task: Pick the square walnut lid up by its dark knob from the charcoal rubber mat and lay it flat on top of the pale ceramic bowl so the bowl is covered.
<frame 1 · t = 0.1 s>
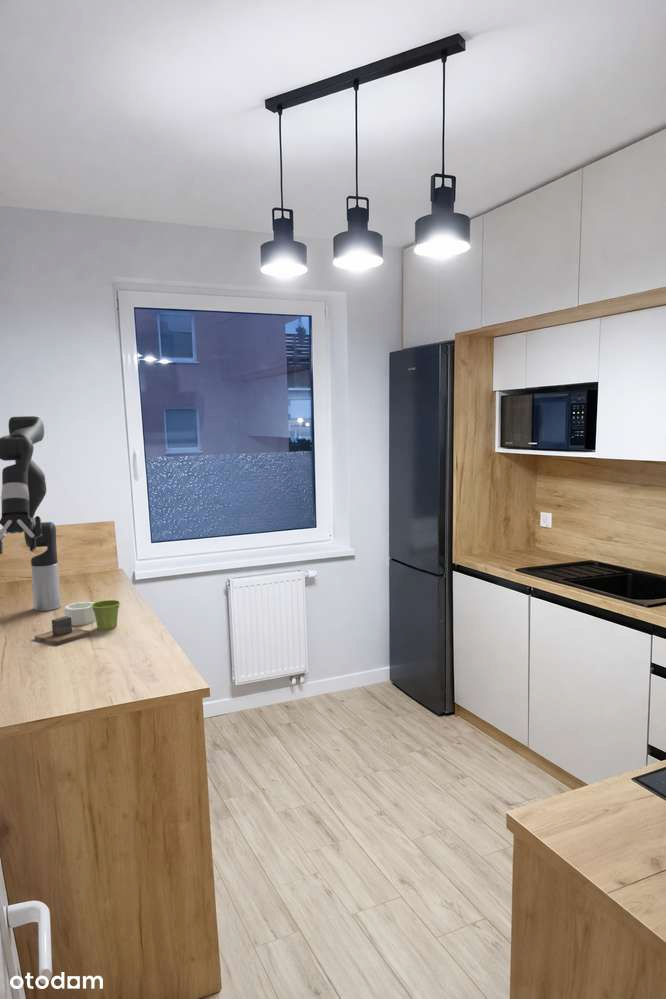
hand: (16, 552, 193), 31 cm above the countertop, tool tilted 20°, fingers open, 8 cm apart
plant pot: (107, 629, 221), on the countertop
lid: (62, 637, 211), resting on mat
bowl: (81, 622, 230), on the countertop
mat: (62, 638, 211), on the countertop
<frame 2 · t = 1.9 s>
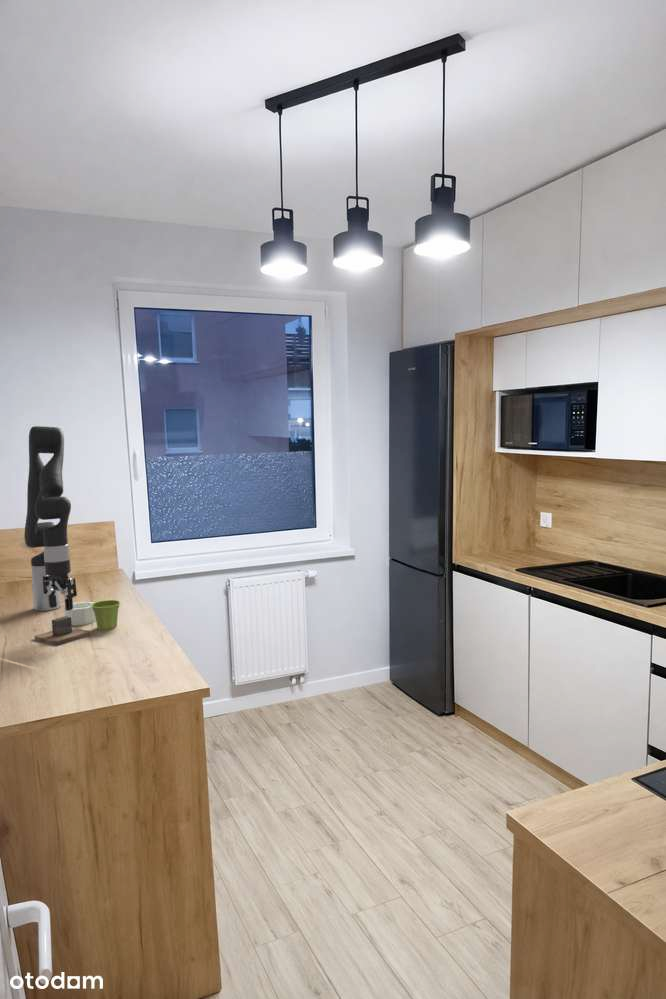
hand: (61, 608, 210), 10 cm above the countertop, tool pointing down, fingers open, 8 cm apart
nothing on the countertop moved.
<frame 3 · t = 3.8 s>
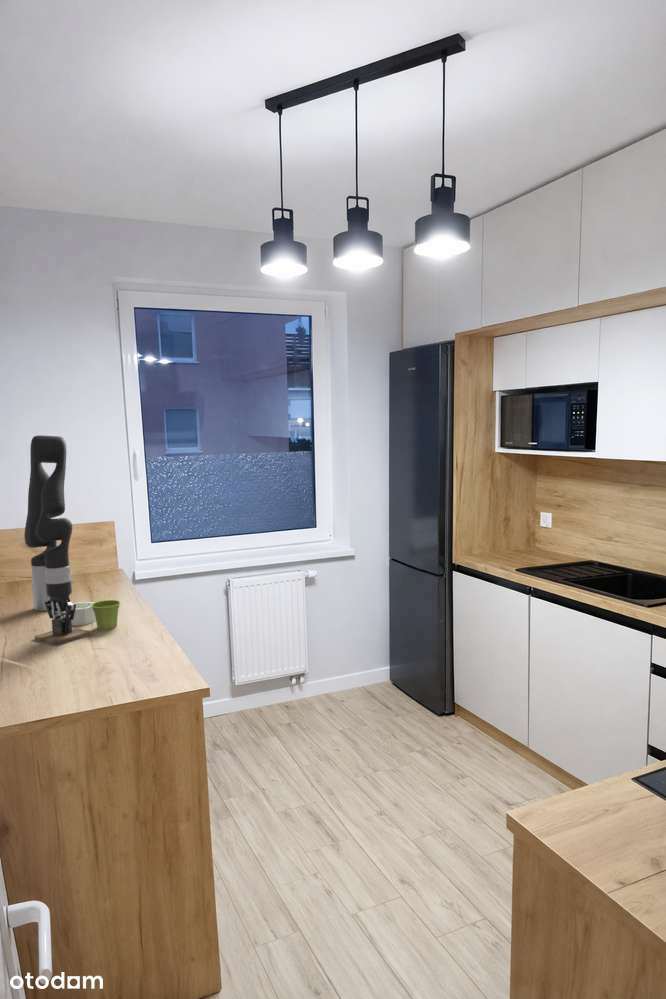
hand: (62, 632, 211), 2 cm above the countertop, tool pointing down, fingers closed on lid, 3 cm apart
lid: (62, 637, 211), point 1 cm above the countertop, touching gripper, mat
everything else where it was.
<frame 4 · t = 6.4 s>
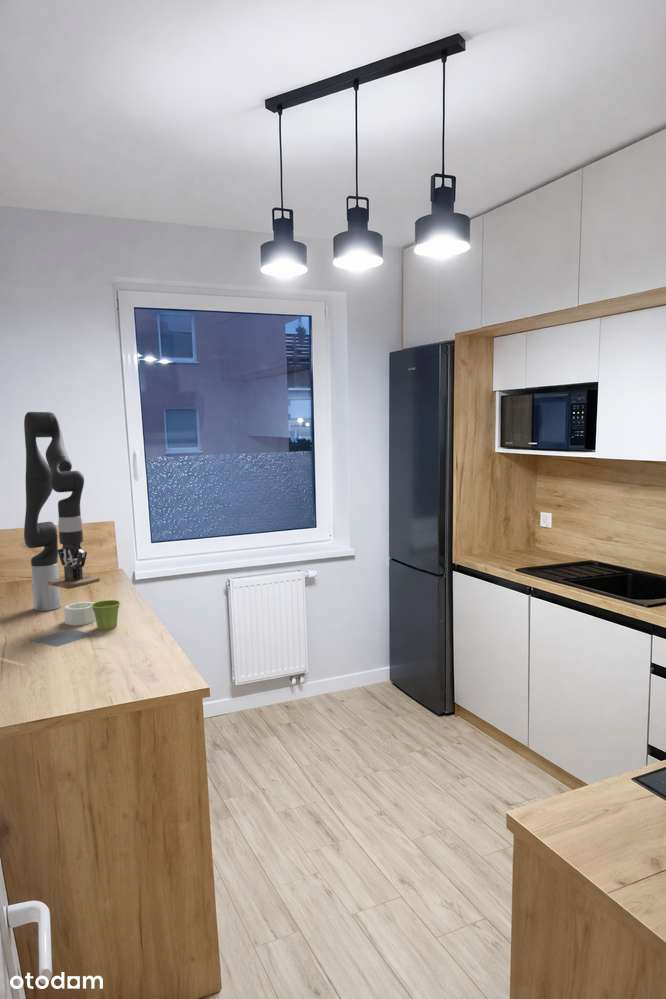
hand: (73, 578, 225), 16 cm above the countertop, tool pointing down, fingers closed on lid, 3 cm apart
lid: (74, 583, 225), point 15 cm above the countertop, touching gripper
everything else where it was.
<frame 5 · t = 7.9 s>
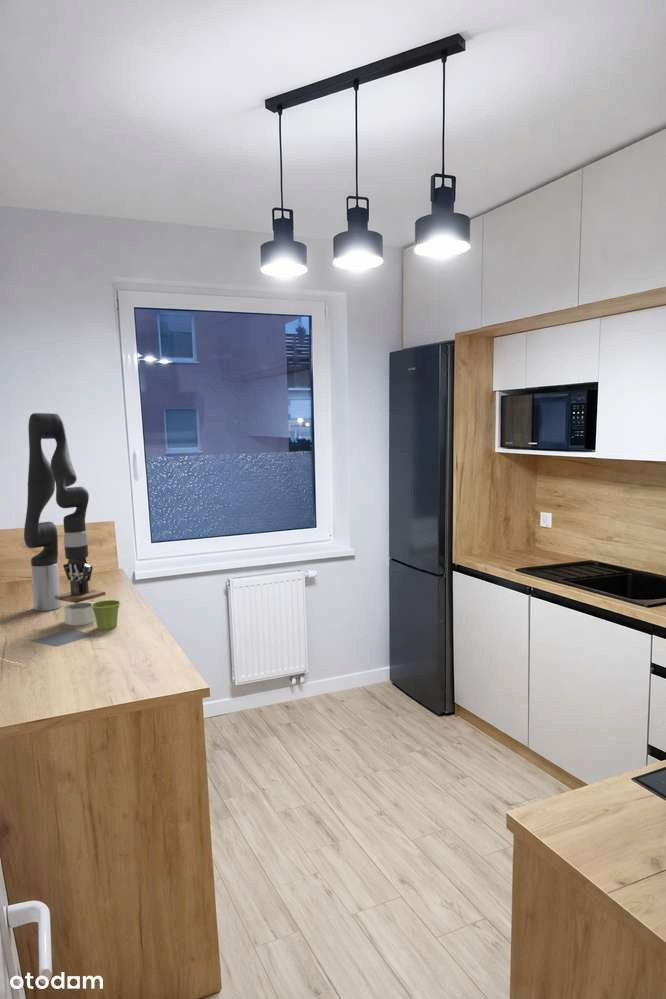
hand: (79, 592, 229), 11 cm above the countertop, tool pointing down, fingers closed on lid, 3 cm apart
lid: (80, 597, 229), point 9 cm above the countertop, touching gripper
everything else where it was.
when the fingers open (9 cm above the countertop, at t = 8.9 s): lid drops 1 cm, resting on bowl.
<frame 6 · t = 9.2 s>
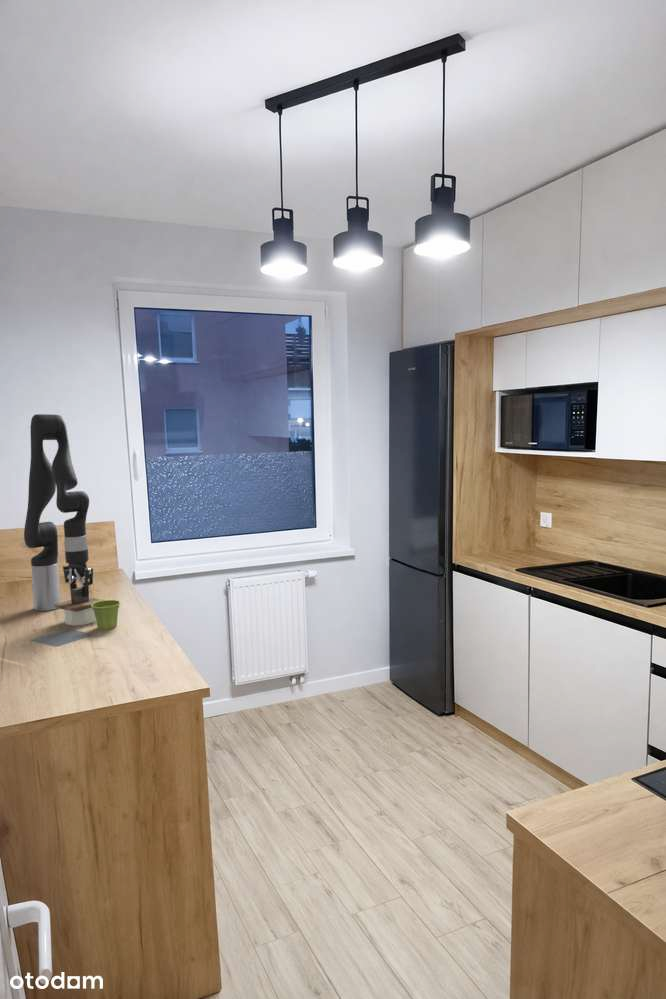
hand: (79, 595, 229), 10 cm above the countertop, tool pointing down, fingers open, 6 cm apart
lid: (80, 605, 229), point 6 cm above the countertop, touching bowl
everything else where it was.
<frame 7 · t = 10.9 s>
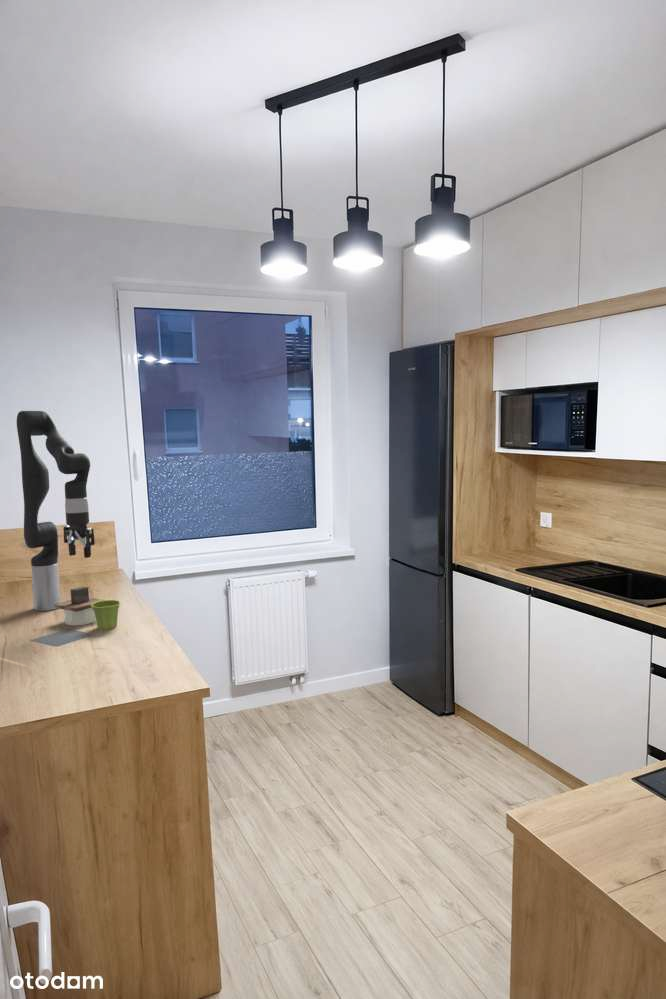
hand: (80, 556, 229), 23 cm above the countertop, tool pointing down, fingers open, 8 cm apart
nothing on the countertop moved.
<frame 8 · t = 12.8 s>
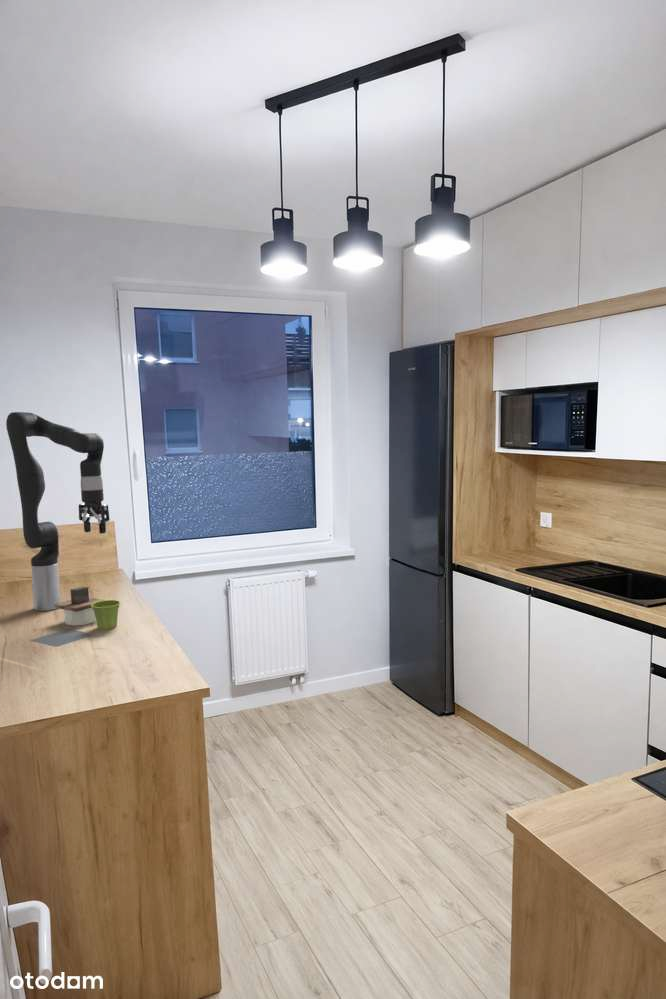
hand: (95, 532, 238), 30 cm above the countertop, tool pointing down, fingers open, 8 cm apart
nothing on the countertop moved.
at the end: lid 0.0 cm from the bowl (horizontally); lid point 6.0 cm above the countertop; lid tilted 0° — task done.
